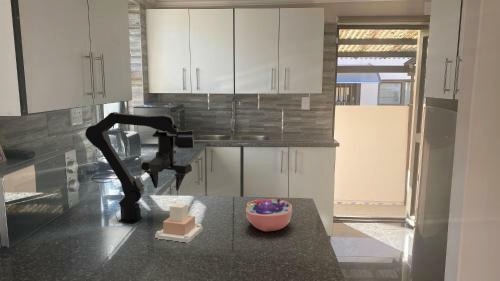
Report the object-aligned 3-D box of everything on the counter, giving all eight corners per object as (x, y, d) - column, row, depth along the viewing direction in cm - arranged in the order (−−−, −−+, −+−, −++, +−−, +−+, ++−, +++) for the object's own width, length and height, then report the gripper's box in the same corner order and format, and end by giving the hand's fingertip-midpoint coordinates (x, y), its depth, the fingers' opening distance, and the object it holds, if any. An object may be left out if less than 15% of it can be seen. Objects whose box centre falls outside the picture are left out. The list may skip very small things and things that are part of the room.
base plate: (155, 238, 124) (154, 223, 123) (172, 226, 135) (171, 211, 134) (187, 243, 120) (187, 227, 120) (202, 229, 132) (202, 215, 131)
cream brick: (170, 220, 125) (169, 206, 125) (176, 216, 130) (175, 202, 129) (182, 222, 124) (181, 207, 124) (187, 217, 129) (187, 203, 128)
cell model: (299, 222, 140) (300, 193, 138) (281, 242, 122) (281, 209, 120) (258, 215, 147) (258, 188, 145) (235, 233, 129) (235, 202, 127)
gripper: (131, 150, 134) (132, 192, 136) (177, 153, 128) (178, 197, 130) (149, 145, 144) (149, 184, 146) (192, 149, 138) (192, 189, 141)
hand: (166, 189), depth 141 cm, fingers open, 9 cm apart
